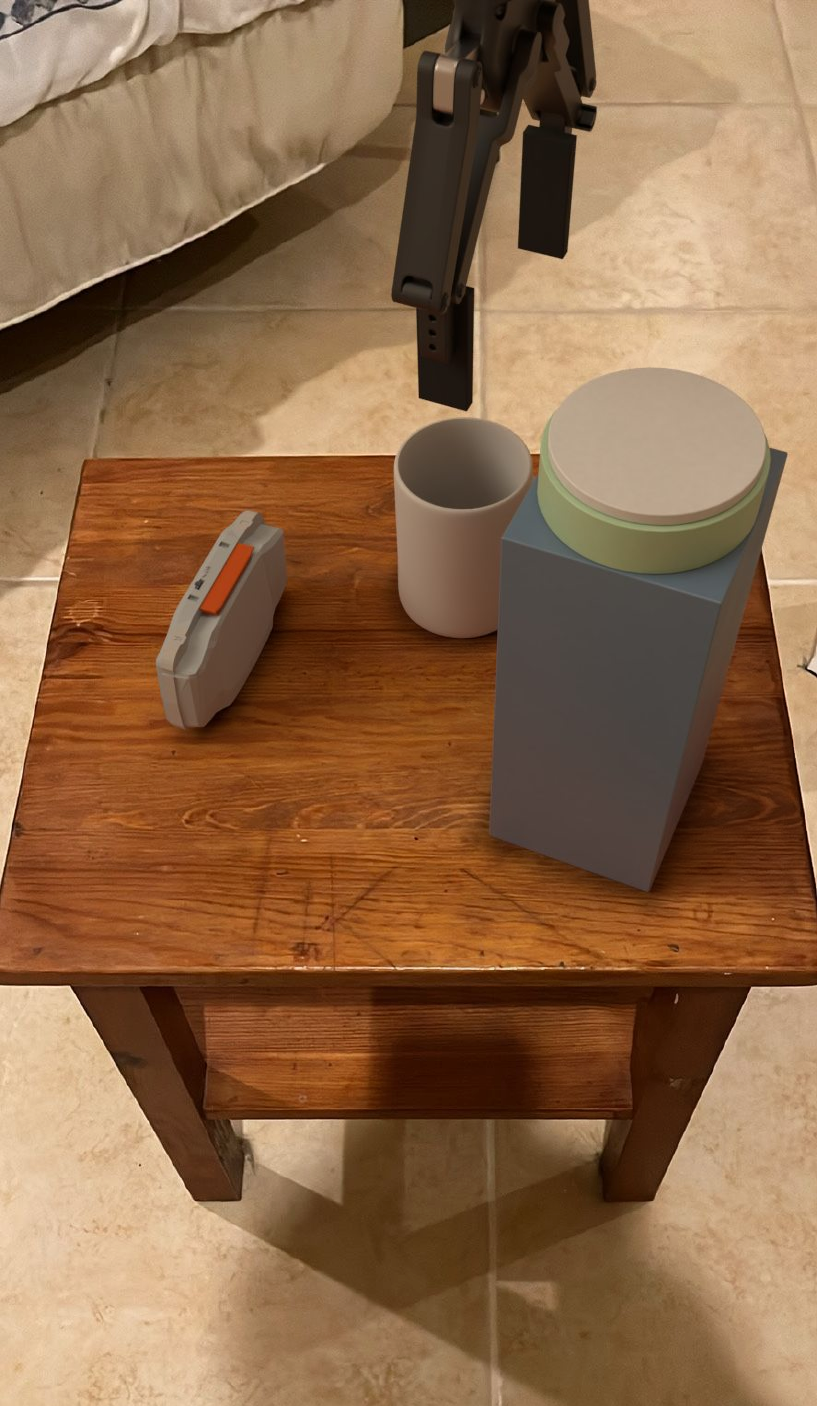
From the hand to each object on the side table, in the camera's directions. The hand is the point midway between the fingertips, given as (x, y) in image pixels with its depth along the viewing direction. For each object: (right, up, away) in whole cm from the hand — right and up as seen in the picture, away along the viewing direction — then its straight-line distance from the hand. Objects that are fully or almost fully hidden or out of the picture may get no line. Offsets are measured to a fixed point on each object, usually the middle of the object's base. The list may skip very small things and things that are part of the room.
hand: (496, 322), depth 70 cm
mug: (+1, -11, +18) cm, 21 cm away
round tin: (+6, -13, -12) cm, 19 cm away
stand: (+7, -25, +9) cm, 27 cm away
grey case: (-16, -16, +15) cm, 27 cm away
